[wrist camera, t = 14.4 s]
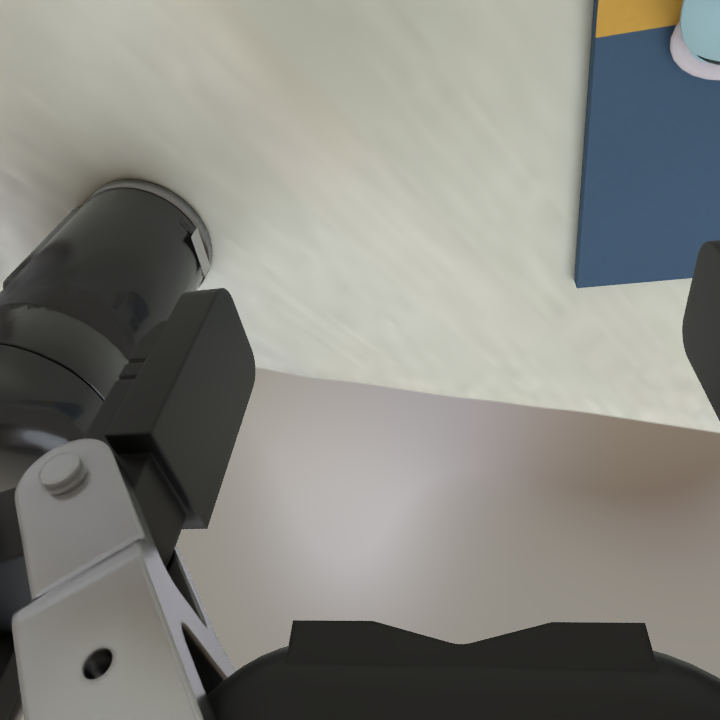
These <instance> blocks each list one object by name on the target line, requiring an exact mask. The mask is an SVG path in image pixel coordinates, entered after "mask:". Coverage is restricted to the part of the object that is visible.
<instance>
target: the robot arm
mask: <svg viewBox="0 0 720 720" xmlns="http://www.w3.org/2000/svg"><path fill="white" fill-rule="evenodd" d="M211 262H212V246H211V241H210V238H209V235H208V232H207V230H206V228H205V226H204V224H203V222H202V221H201V219H200V218H199V216H198V215H197V214H196V213H195V211H194V210H193V209H192V208H191V207H190V206H189V205H188V204H187V203H186V202H184V201H183V200H182V199H181V198H179V197H178V196H176V195H175V194H174V193H172V192H170V191H168V190H167V189H164V188H162V187H160V186H158V185H155V184H152V183H149V182H145V181H139V180H119V181H114V182H111V183H108V184H106V185H103V186H102V187H100V188H98V189H97V190H96V191H95V192H94V193H93V194H92V195H91V196H90V197H89V198H88V199H87V200H86V201H85V203H84V204H83V206H82V207H81V208H79V209H74V210H73V211H72V212H71V213H70V214H69V215H68V216H67V217H66V218H65V219H64V220H63V221H62V222H61V223H60V224H59V225H58V226H57V227H56V228H55V229H54V230H53V231H52V232H51V233H50V234H49V235H48V236H47V237H46V238H45V239H44V240H43V241H42V242H41V244H40V245H39V246H38V247H37V248H36V249H35V250H34V251H33V252H32V253H31V254H30V255H29V256H28V257H27V258H26V259H25V260H24V261H23V262H22V263H21V264H20V265H19V266H18V267H17V268H16V269H15V270H14V271H13V272H12V273H11V274H10V275H9V276H8V277H7V278H6V279H5V281H4V282H3V290H2V291H1V292H0V720H21V718H22V717H23V715H24V720H720V679H719V678H718V677H716V676H714V675H712V674H710V673H708V672H706V671H704V670H702V669H700V668H698V667H696V666H694V665H692V664H690V663H687V662H685V661H682V660H679V659H677V658H674V657H672V656H669V655H666V654H663V653H659V652H656V651H653V650H652V647H651V643H650V640H649V636H648V632H647V629H646V625H645V623H570V622H568V623H565V622H562V623H561V622H551V623H547V624H543V625H540V626H536V627H532V628H528V629H524V630H520V631H516V632H512V633H509V634H505V635H501V636H497V637H493V638H489V639H485V640H481V641H478V642H474V643H470V644H453V643H449V642H445V641H442V640H438V639H435V638H431V637H427V636H424V635H420V634H417V633H413V632H410V631H406V630H403V629H399V628H395V627H392V626H388V625H385V624H381V623H378V622H374V621H293V624H292V630H291V636H290V642H289V646H287V647H284V648H280V649H278V650H275V651H273V652H270V653H268V654H265V655H263V656H261V657H259V658H257V659H255V660H254V661H252V662H250V663H248V664H247V665H245V666H243V667H242V668H240V669H239V670H237V671H235V669H234V667H233V665H232V664H231V662H230V660H229V658H228V657H227V655H226V653H225V651H224V650H223V648H222V646H221V644H220V642H219V640H218V638H217V636H216V633H215V631H214V629H213V627H212V624H211V622H210V620H209V617H208V615H207V613H206V611H205V608H204V606H203V604H202V601H201V599H200V597H199V595H198V592H197V590H196V588H195V585H194V583H193V581H192V578H191V576H190V574H189V571H188V569H187V567H186V565H185V562H184V560H183V558H182V555H181V553H180V552H179V550H178V549H177V547H176V543H177V540H178V537H179V535H180V532H181V529H207V527H208V524H209V521H210V518H211V515H212V512H213V509H214V506H215V503H216V500H217V497H218V493H219V490H220V487H221V484H222V481H223V478H224V475H225V472H226V469H227V466H228V462H229V459H230V457H231V453H232V450H233V447H234V444H235V441H236V438H237V435H238V432H239V429H240V426H241V423H242V419H243V416H244V413H245V410H246V407H247V404H248V401H249V398H250V395H251V392H252V389H253V385H254V381H255V361H254V356H253V352H252V349H251V347H250V344H249V341H248V339H247V336H246V333H245V331H244V328H243V325H242V323H241V320H240V317H239V315H238V312H237V309H236V307H235V304H234V302H233V299H232V297H231V295H230V293H229V292H228V291H227V290H226V289H224V288H220V289H210V290H200V291H197V289H198V287H199V286H200V285H201V284H202V282H203V281H204V279H205V277H206V275H207V273H208V271H209V269H210V266H211ZM682 333H683V343H684V348H685V352H686V355H687V357H688V359H689V361H690V363H691V365H692V367H693V369H694V371H695V373H696V375H697V377H698V379H699V381H700V383H701V385H702V387H703V389H704V391H705V393H706V395H707V397H708V399H709V401H710V403H711V405H712V407H713V409H714V411H715V413H716V415H717V417H718V419H719V421H720V240H715V241H707V242H705V243H704V244H703V245H702V246H701V248H700V250H699V253H698V256H697V261H696V265H695V269H694V274H693V278H692V283H691V287H690V292H689V296H688V301H687V305H686V310H685V314H684V319H683V329H682Z"/></svg>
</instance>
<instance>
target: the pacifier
mask: <svg viewBox="0 0 720 720" xmlns="http://www.w3.org/2000/svg"><path fill="white" fill-rule="evenodd" d="M670 51H671V54H672V57H673V60H674V61H675V62H676V64H677V65H678V66H679V67H680V68H681V69H682V70H684V71H685V72H687V73H689V74H691V75H692V76H696V77H699V78H703V79H707V80H720V62H714V61H710V60H715V61H720V0H683V3H682V7H681V14H680V22H679V23H678V24H677V25H676V27H675V30H674V32H673V34H672V36H671V42H670ZM698 55H699V56H701V57H703V58H706V59H710V60H706V59H703V58H701V57H699V56H698Z"/></svg>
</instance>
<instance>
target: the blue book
mask: <svg viewBox="0 0 720 720" xmlns="http://www.w3.org/2000/svg"><path fill="white" fill-rule="evenodd" d="M682 3H683V0H594V10H593V24H592V38H591V53H590V67H589V81H588V95H587V109H586V123H585V137H584V152H583V166H582V180H581V194H580V208H579V222H578V236H577V251H576V265H575V279H574V281H575V284H576V287H577V288H583V287H595V286H606V285H617V284H628V283H640V282H651V281H662V280H674V279H685V278H693V274H694V269H695V265H696V261H697V256H698V253H699V250H700V248H701V246H702V245H703V244H704V243H705V242H707V241H715V240H720V80H707V79H703V78H699V77H696V76H692V75H691V74H689V73H687V72H685V71H684V70H682V69H681V68H680V67H679V66H678V65H677V64H676V62H675V61H674V60H673V57H672V54H671V51H670V42H671V36H672V34H673V32H674V30H675V27H676V25H677V24H678V23H679V22H680V14H681V7H682ZM698 56H699V55H698ZM699 57H701V56H699ZM701 58H703V57H701ZM703 59H706V58H703ZM706 60H710V59H706ZM710 61H714V62H720V61H715V60H710Z"/></svg>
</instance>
